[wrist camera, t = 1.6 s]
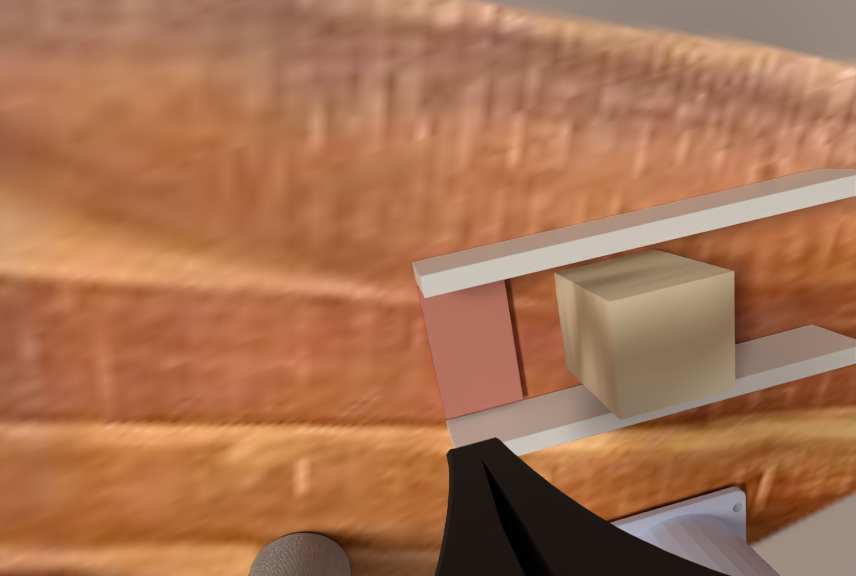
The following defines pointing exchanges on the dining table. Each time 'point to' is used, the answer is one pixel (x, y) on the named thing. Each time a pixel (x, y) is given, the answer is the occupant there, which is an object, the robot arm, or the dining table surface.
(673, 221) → the channel
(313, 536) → the grey hollow tube
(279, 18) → the dining table surface
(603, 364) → the block
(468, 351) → the pad
